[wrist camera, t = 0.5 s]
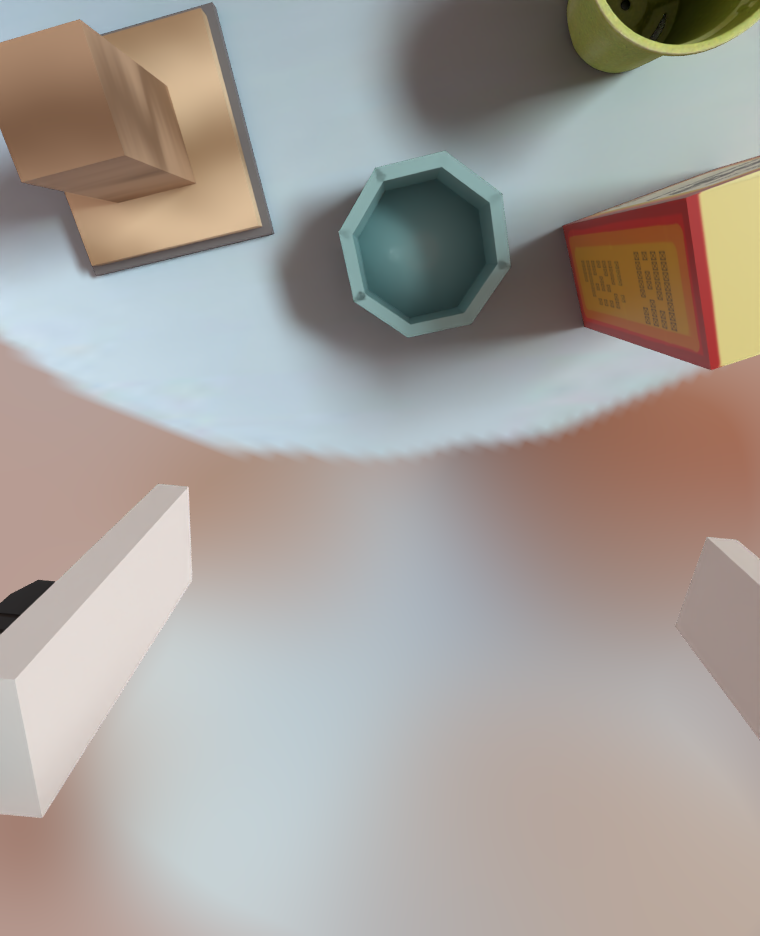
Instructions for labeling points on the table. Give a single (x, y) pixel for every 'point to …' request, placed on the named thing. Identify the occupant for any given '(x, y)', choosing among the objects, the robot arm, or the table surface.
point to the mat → (247, 152)
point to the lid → (128, 133)
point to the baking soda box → (677, 267)
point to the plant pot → (653, 29)
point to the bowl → (425, 244)
